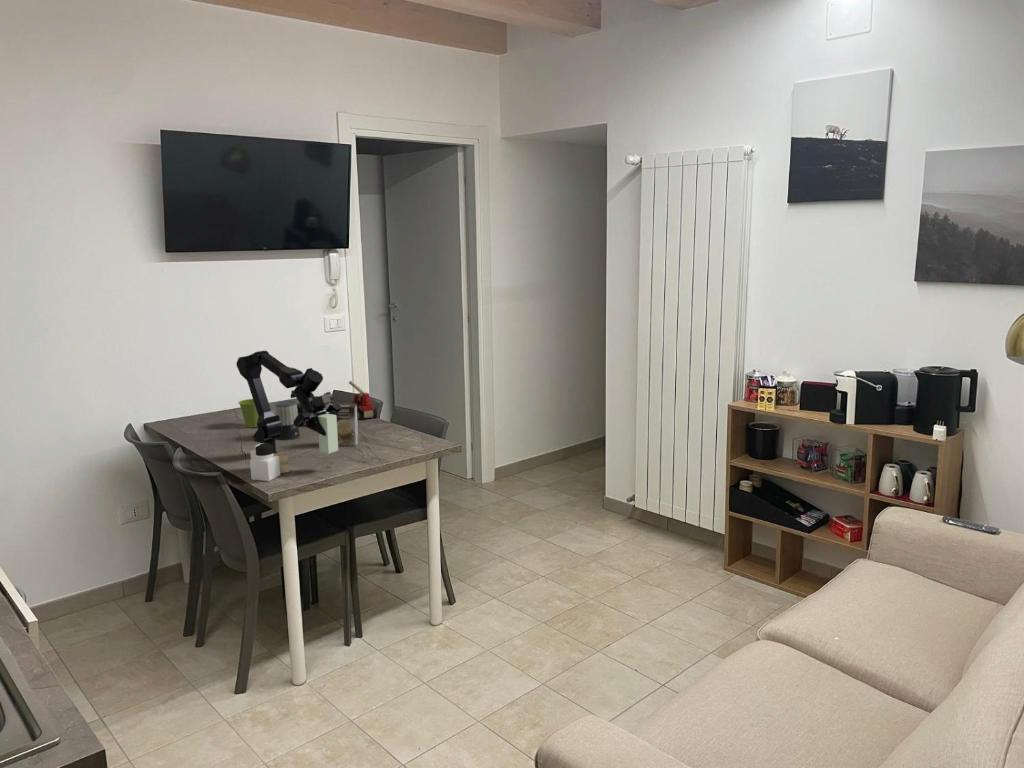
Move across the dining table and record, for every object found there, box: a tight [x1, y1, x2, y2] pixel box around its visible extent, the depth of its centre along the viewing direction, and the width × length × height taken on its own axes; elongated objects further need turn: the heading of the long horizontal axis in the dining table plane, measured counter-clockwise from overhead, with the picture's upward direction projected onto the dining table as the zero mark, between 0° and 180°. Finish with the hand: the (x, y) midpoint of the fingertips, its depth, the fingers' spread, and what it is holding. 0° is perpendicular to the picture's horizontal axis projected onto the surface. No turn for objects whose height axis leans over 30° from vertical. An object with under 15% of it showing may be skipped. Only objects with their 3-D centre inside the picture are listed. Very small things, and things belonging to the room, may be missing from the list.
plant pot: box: [237, 398, 259, 429], centre depth 337 cm, size 12×12×11 cm
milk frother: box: [274, 399, 306, 441], centre depth 320 cm, size 14×16×15 cm
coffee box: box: [336, 403, 359, 447], centre depth 306 cm, size 9×6×16 cm
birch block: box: [273, 452, 290, 474], centre depth 273 cm, size 5×5×6 cm
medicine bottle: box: [249, 443, 281, 482], centre depth 265 cm, size 7×7×12 cm
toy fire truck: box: [348, 380, 378, 421], centre depth 352 cm, size 11×16×18 cm
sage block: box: [318, 414, 339, 454], centre depth 272 cm, size 5×5×13 cm
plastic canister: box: [249, 448, 256, 460], centre depth 275 cm, size 5×5×7 cm
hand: (330, 433), depth 271 cm, fingers closed on sage block, 5 cm apart
